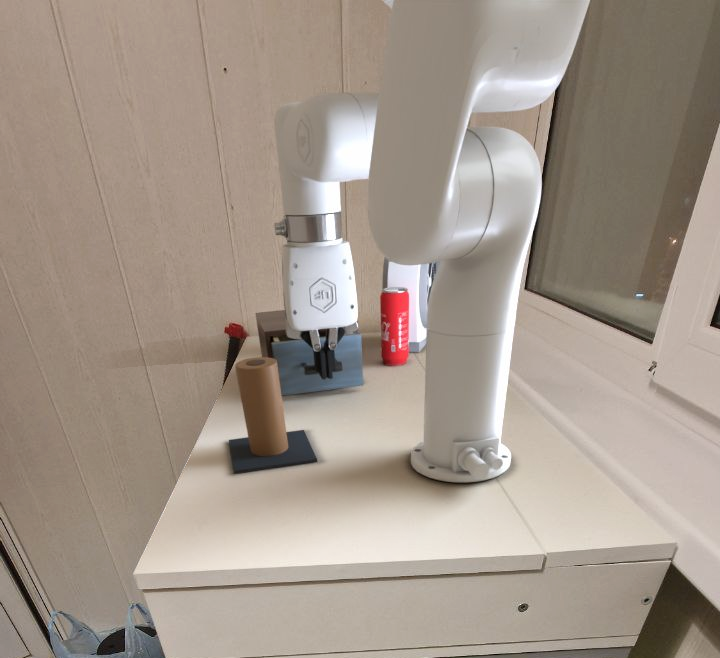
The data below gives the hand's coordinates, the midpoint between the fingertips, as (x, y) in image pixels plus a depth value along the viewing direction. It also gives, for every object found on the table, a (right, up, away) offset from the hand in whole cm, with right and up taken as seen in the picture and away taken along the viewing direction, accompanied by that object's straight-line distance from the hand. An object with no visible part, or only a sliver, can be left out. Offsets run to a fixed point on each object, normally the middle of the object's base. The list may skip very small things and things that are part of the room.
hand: (325, 376), depth 86 cm
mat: (-7, -15, -9) cm, 19 cm away
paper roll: (-7, -15, -10) cm, 19 cm away
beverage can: (+12, +12, +21) cm, 27 cm away
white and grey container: (+16, +21, +30) cm, 40 cm away
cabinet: (-4, +8, +17) cm, 19 cm away
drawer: (-2, +4, +11) cm, 12 cm away
